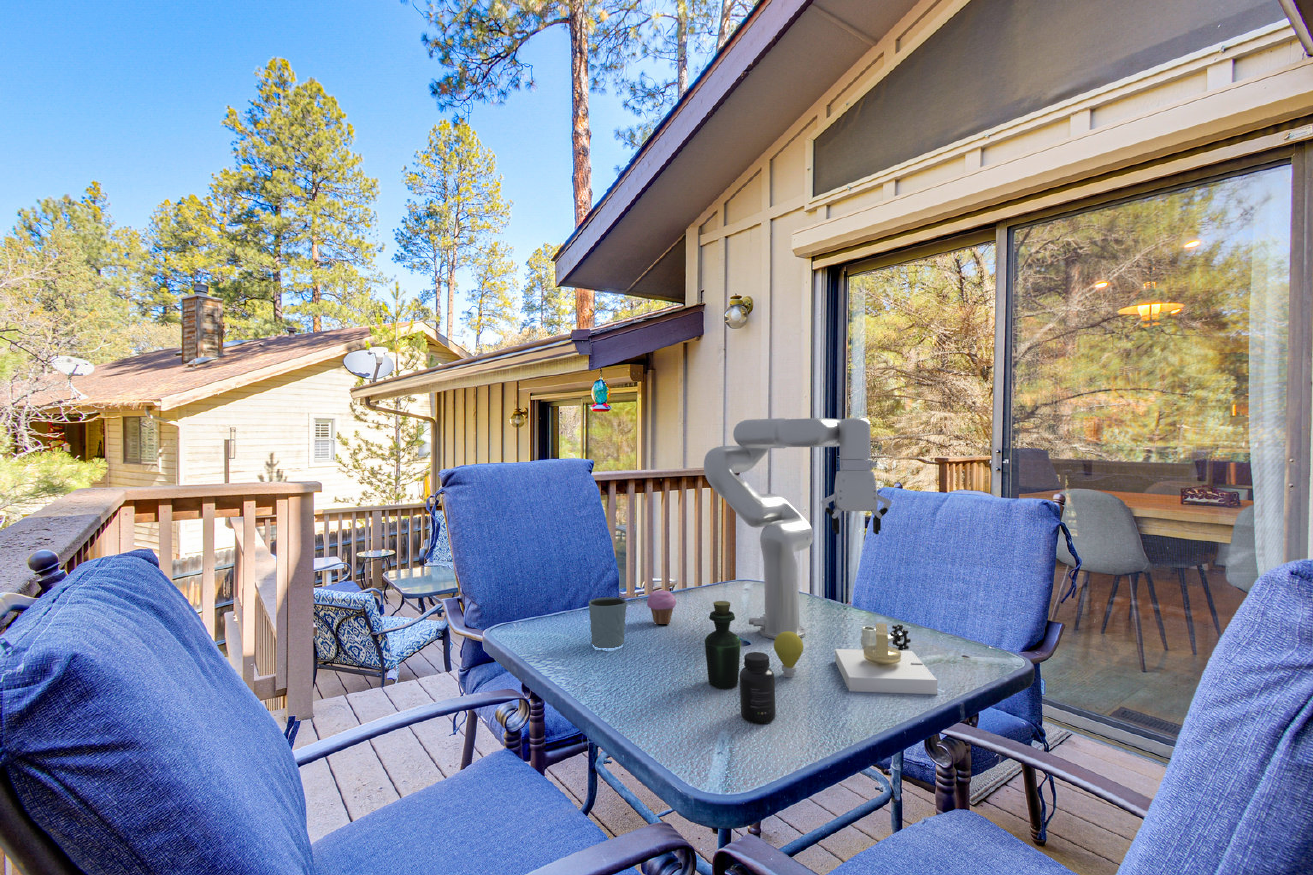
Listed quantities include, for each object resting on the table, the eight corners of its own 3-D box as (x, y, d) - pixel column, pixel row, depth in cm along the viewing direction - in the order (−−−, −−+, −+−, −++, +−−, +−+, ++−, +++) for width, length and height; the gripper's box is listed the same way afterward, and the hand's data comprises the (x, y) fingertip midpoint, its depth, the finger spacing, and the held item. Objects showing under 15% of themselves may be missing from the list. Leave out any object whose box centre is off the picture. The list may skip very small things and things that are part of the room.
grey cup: (582, 649, 159) (581, 604, 159) (600, 638, 168) (599, 595, 168) (617, 654, 155) (616, 607, 155) (633, 642, 164) (632, 597, 164)
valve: (871, 659, 148) (911, 654, 152) (870, 632, 148) (910, 627, 152) (854, 651, 154) (893, 645, 158) (853, 625, 155) (892, 620, 158)
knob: (902, 670, 132) (901, 636, 132) (863, 667, 134) (862, 633, 134) (899, 653, 142) (898, 622, 142) (863, 650, 145) (863, 619, 145)
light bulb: (787, 683, 134) (786, 638, 134) (768, 673, 140) (767, 630, 140) (810, 677, 137) (809, 633, 138) (790, 667, 143) (790, 625, 143)
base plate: (849, 691, 129) (849, 676, 129) (835, 661, 147) (835, 648, 147) (937, 694, 127) (937, 678, 127) (912, 663, 145) (911, 649, 145)
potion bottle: (697, 682, 136) (696, 602, 136) (723, 673, 140) (722, 596, 141) (722, 694, 129) (721, 610, 129) (749, 684, 134) (747, 603, 134)
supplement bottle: (737, 710, 121) (735, 650, 121) (770, 708, 122) (769, 648, 122) (744, 726, 114) (743, 662, 114) (780, 724, 115) (778, 661, 115)
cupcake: (676, 627, 176) (676, 593, 176) (647, 628, 176) (646, 594, 177) (676, 619, 185) (675, 586, 185) (647, 619, 185) (647, 586, 185)
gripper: (886, 465, 156) (887, 531, 156) (818, 466, 159) (819, 531, 158) (894, 466, 149) (895, 536, 149) (822, 467, 151) (823, 535, 151)
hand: (856, 533), depth 154 cm, fingers open, 9 cm apart
